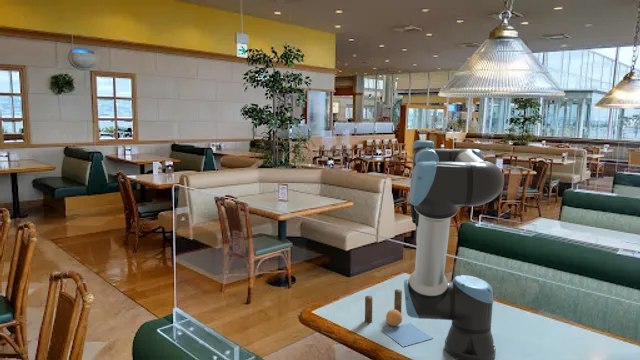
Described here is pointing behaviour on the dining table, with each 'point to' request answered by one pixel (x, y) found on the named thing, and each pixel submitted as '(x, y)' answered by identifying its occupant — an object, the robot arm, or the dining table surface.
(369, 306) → the post left
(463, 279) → the robot arm
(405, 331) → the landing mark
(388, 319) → the ball
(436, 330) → the dining table surface
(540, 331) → the dining table surface
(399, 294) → the post right
